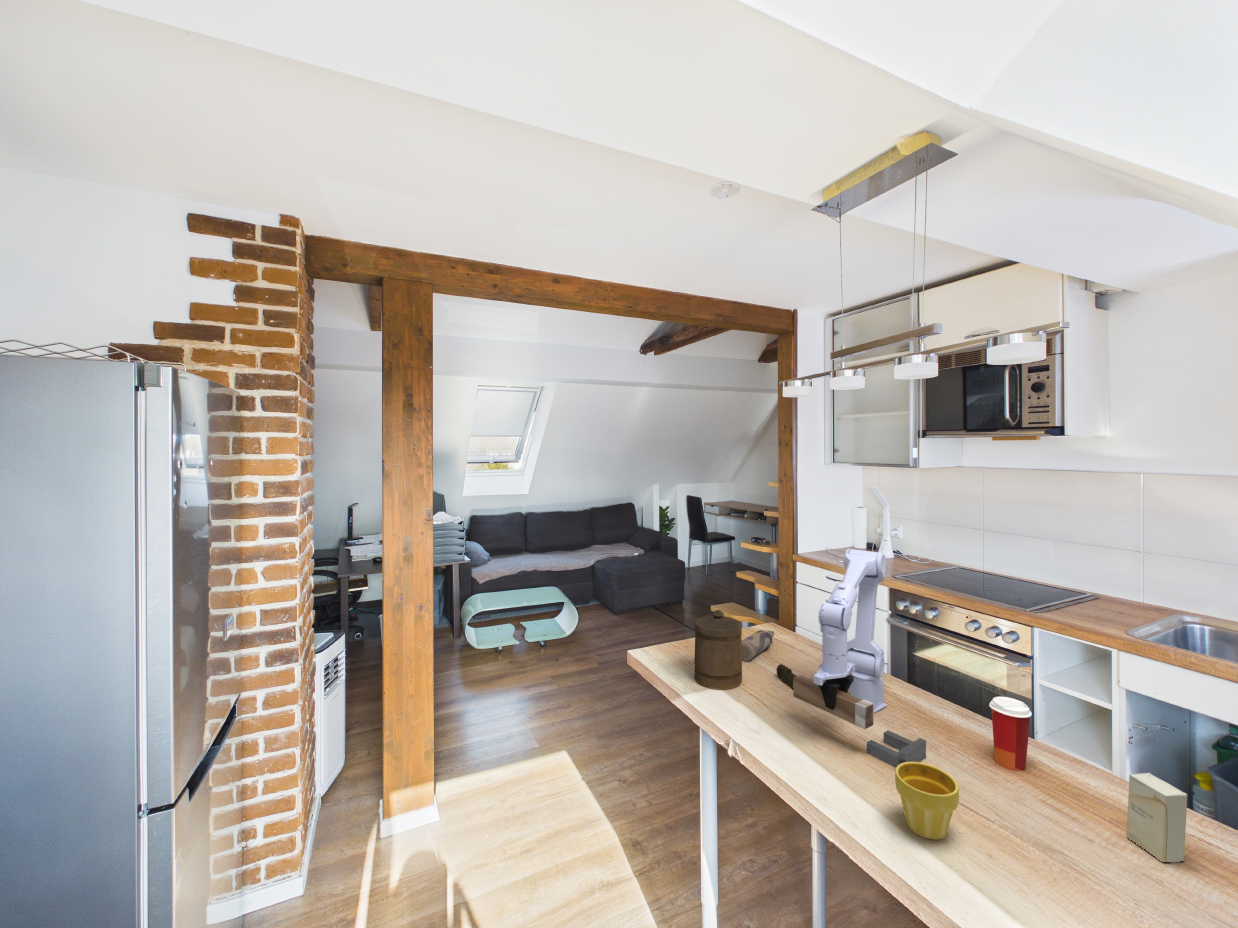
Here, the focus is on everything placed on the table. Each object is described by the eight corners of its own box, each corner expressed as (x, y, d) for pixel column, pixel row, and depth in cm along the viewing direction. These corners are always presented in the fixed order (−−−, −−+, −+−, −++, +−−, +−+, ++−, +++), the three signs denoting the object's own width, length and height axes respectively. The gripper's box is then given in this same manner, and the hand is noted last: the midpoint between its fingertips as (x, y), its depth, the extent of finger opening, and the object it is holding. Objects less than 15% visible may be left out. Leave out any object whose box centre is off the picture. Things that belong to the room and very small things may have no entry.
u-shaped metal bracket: (887, 739, 127) (887, 724, 127) (926, 757, 120) (926, 740, 120) (866, 752, 122) (866, 735, 122) (905, 771, 115) (905, 754, 115)
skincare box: (1125, 837, 95) (1126, 772, 95) (1147, 835, 95) (1148, 771, 95) (1164, 864, 88) (1165, 795, 88) (1187, 862, 89) (1188, 793, 89)
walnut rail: (801, 692, 138) (801, 673, 138) (873, 724, 122) (873, 703, 122) (793, 696, 136) (793, 676, 136) (864, 729, 120) (864, 707, 120)
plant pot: (933, 855, 91) (934, 801, 91) (883, 817, 100) (883, 768, 100) (971, 837, 95) (971, 785, 95) (919, 803, 104) (919, 755, 104)
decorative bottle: (752, 664, 174) (752, 645, 174) (732, 659, 179) (732, 640, 179) (783, 642, 194) (783, 625, 194) (764, 638, 199) (764, 621, 199)
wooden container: (748, 676, 165) (748, 608, 164) (732, 694, 152) (732, 620, 152) (705, 666, 173) (705, 601, 172) (686, 682, 160) (686, 613, 160)
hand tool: (823, 702, 148) (823, 686, 148) (811, 704, 147) (811, 688, 147) (784, 675, 166) (784, 661, 166) (773, 676, 165) (773, 662, 165)
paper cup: (1023, 757, 120) (1023, 698, 120) (1037, 776, 113) (1038, 713, 112) (983, 751, 122) (984, 693, 122) (995, 769, 115) (995, 708, 115)
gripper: (837, 640, 135) (837, 691, 136) (802, 653, 127) (802, 707, 127) (862, 649, 129) (862, 702, 130) (828, 662, 121) (828, 719, 122)
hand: (834, 705), depth 128 cm, fingers closed on walnut rail, 3 cm apart
